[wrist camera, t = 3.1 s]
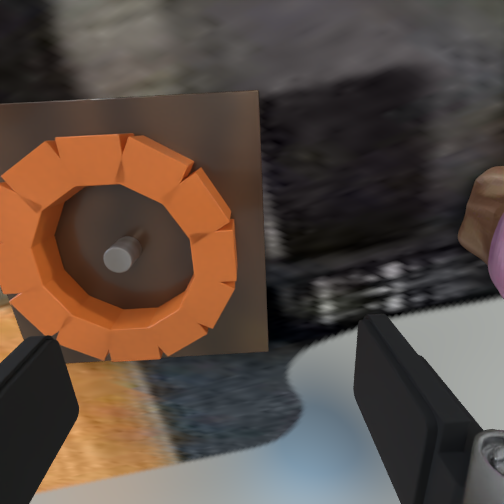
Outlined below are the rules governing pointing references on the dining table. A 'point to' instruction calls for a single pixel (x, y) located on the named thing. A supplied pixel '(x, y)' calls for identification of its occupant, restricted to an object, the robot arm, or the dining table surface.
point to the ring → (68, 290)
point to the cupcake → (486, 223)
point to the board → (155, 207)
